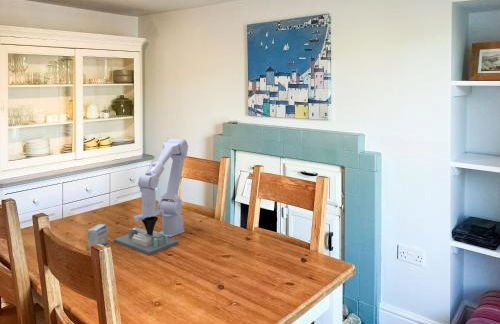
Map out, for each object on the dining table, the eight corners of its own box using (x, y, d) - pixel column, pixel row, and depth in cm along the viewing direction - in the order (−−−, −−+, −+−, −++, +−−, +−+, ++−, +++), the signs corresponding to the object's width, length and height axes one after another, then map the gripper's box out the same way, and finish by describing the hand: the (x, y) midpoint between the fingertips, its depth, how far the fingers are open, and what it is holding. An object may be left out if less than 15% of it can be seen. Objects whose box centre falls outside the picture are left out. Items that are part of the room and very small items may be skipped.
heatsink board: (143, 232, 201) (142, 220, 200) (178, 244, 186) (178, 231, 185) (113, 242, 188) (113, 229, 187) (149, 255, 174) (148, 242, 173)
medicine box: (97, 250, 179) (96, 230, 177) (88, 249, 180) (86, 229, 178) (107, 243, 187) (106, 224, 185) (98, 242, 188) (97, 223, 186)
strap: (131, 230, 190) (131, 228, 189) (137, 228, 192) (137, 226, 192) (157, 240, 179) (156, 237, 179) (163, 237, 182) (163, 234, 182)
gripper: (141, 208, 174) (142, 240, 176) (168, 200, 185) (169, 231, 188) (130, 205, 178) (131, 236, 180) (157, 198, 189) (158, 227, 192)
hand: (149, 233), depth 184 cm, fingers closed, pressing on strap
